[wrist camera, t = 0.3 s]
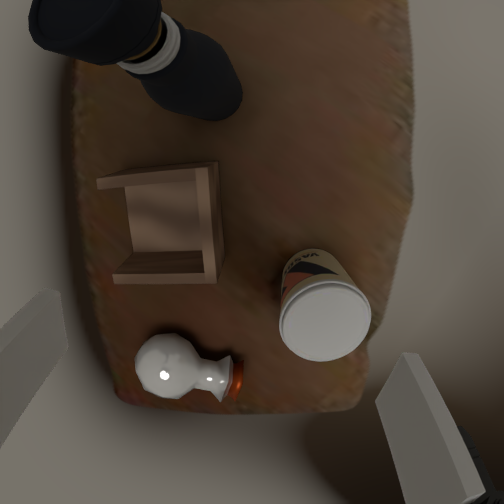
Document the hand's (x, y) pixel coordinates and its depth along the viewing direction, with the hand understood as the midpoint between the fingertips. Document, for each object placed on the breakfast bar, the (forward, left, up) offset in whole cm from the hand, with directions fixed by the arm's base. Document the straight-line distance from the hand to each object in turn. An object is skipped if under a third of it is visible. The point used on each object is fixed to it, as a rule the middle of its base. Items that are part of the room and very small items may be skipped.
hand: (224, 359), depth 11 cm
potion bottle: (+22, -10, -29) cm, 38 cm away
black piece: (-13, -4, -29) cm, 32 cm away
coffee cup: (+10, +7, -29) cm, 32 cm away
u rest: (+1, -10, -29) cm, 31 cm away
